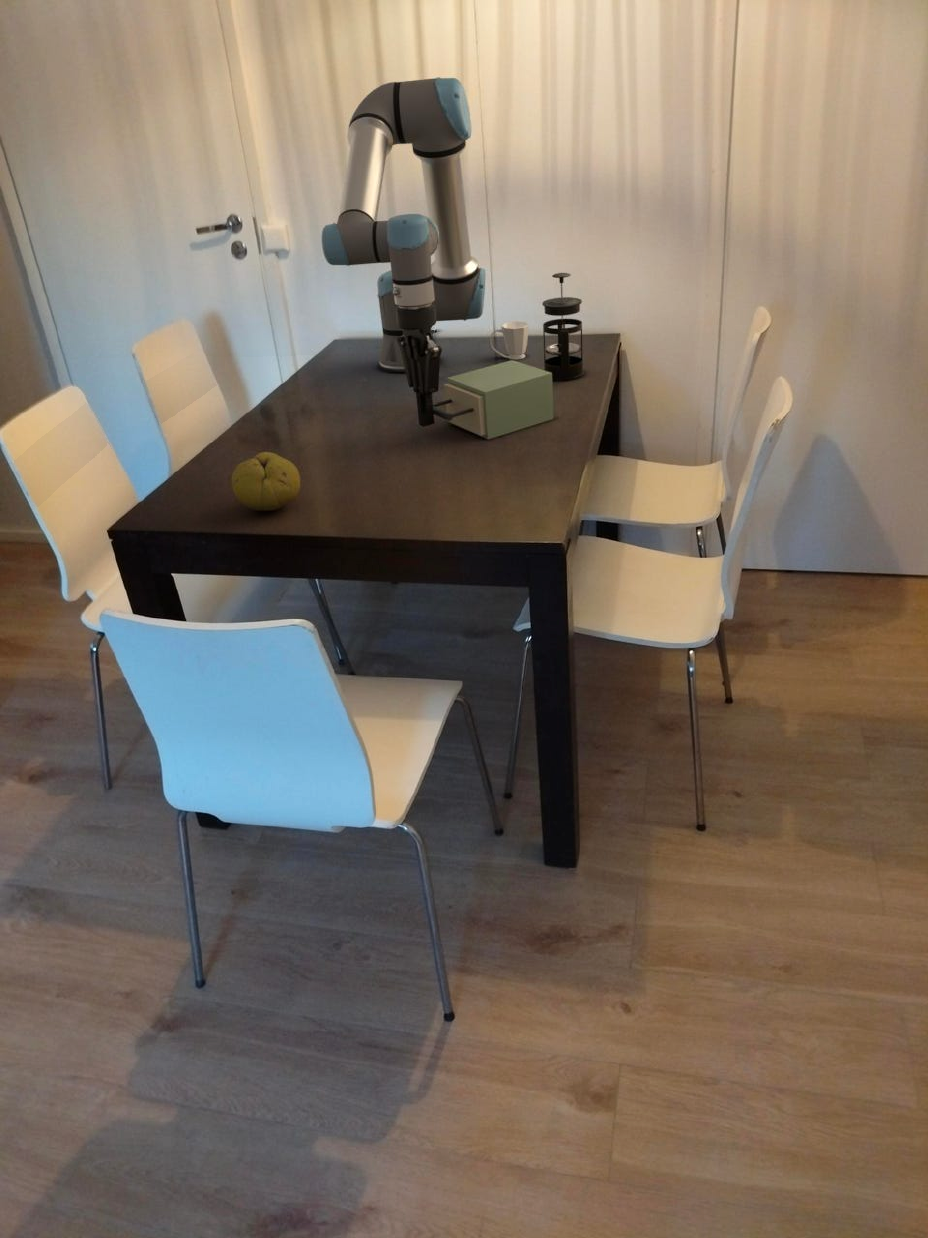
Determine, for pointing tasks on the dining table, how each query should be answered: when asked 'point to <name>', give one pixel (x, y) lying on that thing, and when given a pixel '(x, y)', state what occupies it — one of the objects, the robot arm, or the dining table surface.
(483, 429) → the drawer
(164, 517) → the dining table surface
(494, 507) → the dining table surface
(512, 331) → the cup
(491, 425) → the cabinet
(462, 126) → the robot arm
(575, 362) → the french press
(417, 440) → the dining table surface
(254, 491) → the fruit
